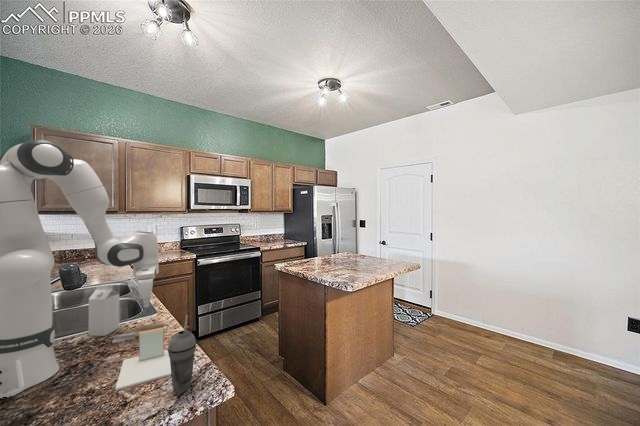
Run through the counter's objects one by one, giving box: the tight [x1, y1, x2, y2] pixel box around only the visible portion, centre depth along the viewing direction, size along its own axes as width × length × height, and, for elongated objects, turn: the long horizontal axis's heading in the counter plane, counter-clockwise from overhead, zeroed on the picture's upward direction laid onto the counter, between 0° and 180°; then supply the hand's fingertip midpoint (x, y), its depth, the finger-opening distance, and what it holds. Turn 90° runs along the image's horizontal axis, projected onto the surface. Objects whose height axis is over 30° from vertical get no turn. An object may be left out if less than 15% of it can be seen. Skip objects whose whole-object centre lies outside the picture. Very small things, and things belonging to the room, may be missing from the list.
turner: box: [111, 322, 165, 344], centre depth 106 cm, size 6×17×3 cm, turn 121°
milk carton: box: [88, 286, 120, 337], centre depth 109 cm, size 7×7×19 cm
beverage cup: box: [167, 315, 197, 393], centre depth 73 cm, size 7×7×20 cm
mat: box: [114, 349, 171, 391], centre depth 83 cm, size 14×17×1 cm
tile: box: [138, 326, 165, 361], centre depth 88 cm, size 7×2×9 cm, turn 121°
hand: (147, 303), depth 108 cm, fingers open, 8 cm apart
